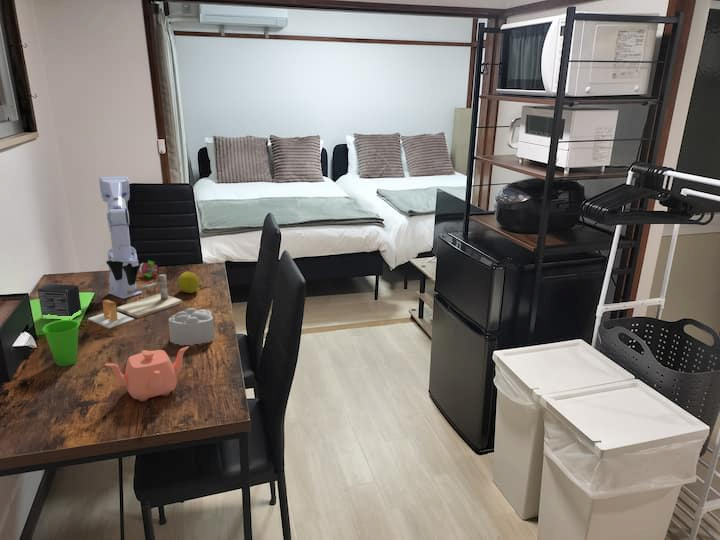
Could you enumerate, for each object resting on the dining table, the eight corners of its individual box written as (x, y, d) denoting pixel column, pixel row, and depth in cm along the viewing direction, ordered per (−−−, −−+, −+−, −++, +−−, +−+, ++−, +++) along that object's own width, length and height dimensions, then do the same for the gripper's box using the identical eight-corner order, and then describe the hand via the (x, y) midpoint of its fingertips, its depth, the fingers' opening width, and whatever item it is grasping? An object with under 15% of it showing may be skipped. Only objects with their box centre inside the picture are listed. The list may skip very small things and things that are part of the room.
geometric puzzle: (156, 266, 221) (144, 254, 216) (165, 269, 218) (154, 257, 212) (144, 279, 218) (132, 267, 213) (154, 283, 215) (142, 271, 209)
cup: (47, 372, 140) (41, 335, 137) (48, 358, 148) (42, 322, 144) (85, 366, 144) (79, 329, 141) (84, 352, 152) (79, 317, 148)
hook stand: (117, 309, 182) (113, 282, 179) (161, 295, 196) (159, 270, 193) (138, 318, 175) (135, 290, 172) (182, 302, 190) (180, 276, 187)
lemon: (199, 296, 197) (198, 276, 194) (177, 297, 195) (176, 277, 192) (200, 286, 207) (199, 267, 204) (179, 287, 205) (178, 268, 202)
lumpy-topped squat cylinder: (215, 342, 161) (214, 316, 158) (171, 348, 156) (168, 321, 153) (211, 328, 170) (210, 304, 167) (169, 334, 165) (167, 308, 162)
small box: (83, 313, 178) (79, 284, 175) (71, 321, 172) (67, 291, 168) (54, 311, 179) (49, 282, 175) (41, 319, 172) (36, 289, 169)
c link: (104, 317, 174) (102, 300, 172) (108, 315, 176) (106, 299, 174) (113, 321, 172) (111, 304, 170) (117, 319, 173) (115, 302, 171)
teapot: (192, 381, 139) (189, 343, 135) (162, 410, 125) (158, 370, 122) (143, 373, 141) (139, 336, 138) (108, 402, 128) (103, 362, 124)
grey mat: (87, 319, 173) (87, 318, 173) (113, 311, 180) (112, 310, 180) (109, 328, 167) (108, 327, 167) (134, 319, 174) (134, 318, 174)
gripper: (97, 242, 176) (102, 280, 180) (123, 250, 169) (127, 289, 173) (116, 238, 182) (120, 275, 186) (142, 245, 174) (146, 284, 179)
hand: (125, 282), depth 180 cm, fingers open, 7 cm apart
